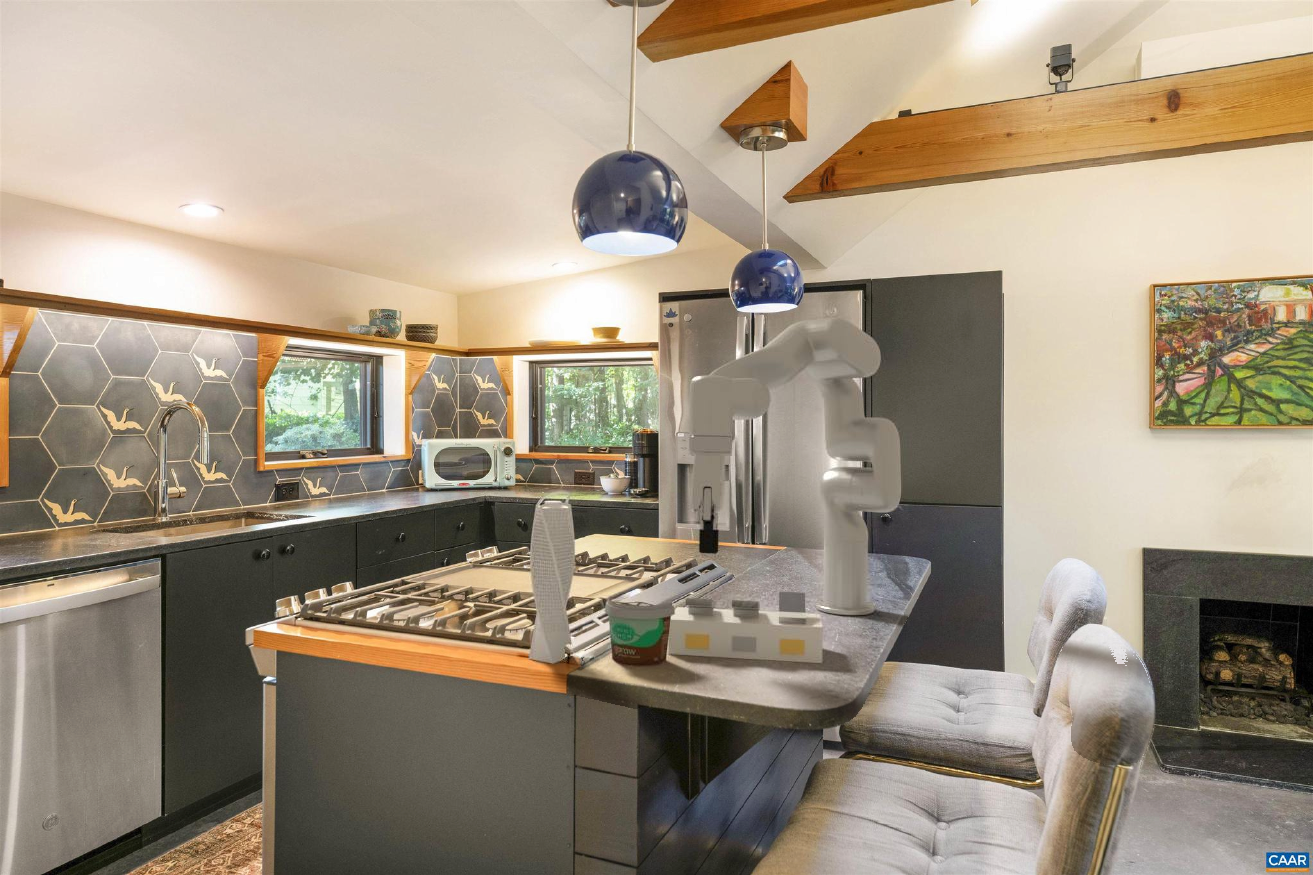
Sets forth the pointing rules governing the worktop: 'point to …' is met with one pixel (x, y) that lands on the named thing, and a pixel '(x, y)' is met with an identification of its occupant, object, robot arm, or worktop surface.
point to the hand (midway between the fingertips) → (708, 552)
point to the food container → (639, 632)
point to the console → (744, 635)
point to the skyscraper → (551, 577)
